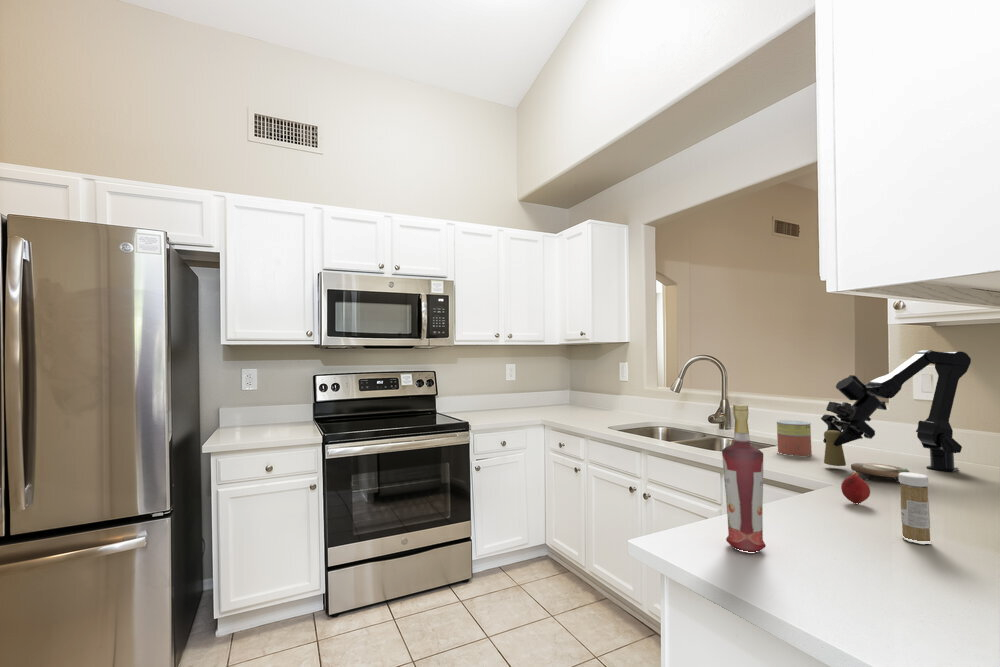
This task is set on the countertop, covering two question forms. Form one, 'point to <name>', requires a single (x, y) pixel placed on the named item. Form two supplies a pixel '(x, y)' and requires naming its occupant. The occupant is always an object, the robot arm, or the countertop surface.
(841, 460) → the cork
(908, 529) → the sprinkles bottle
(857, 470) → the brown shallow bowl
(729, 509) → the liquor
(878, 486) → the countertop surface
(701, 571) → the countertop surface
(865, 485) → the onion
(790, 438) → the canned food
